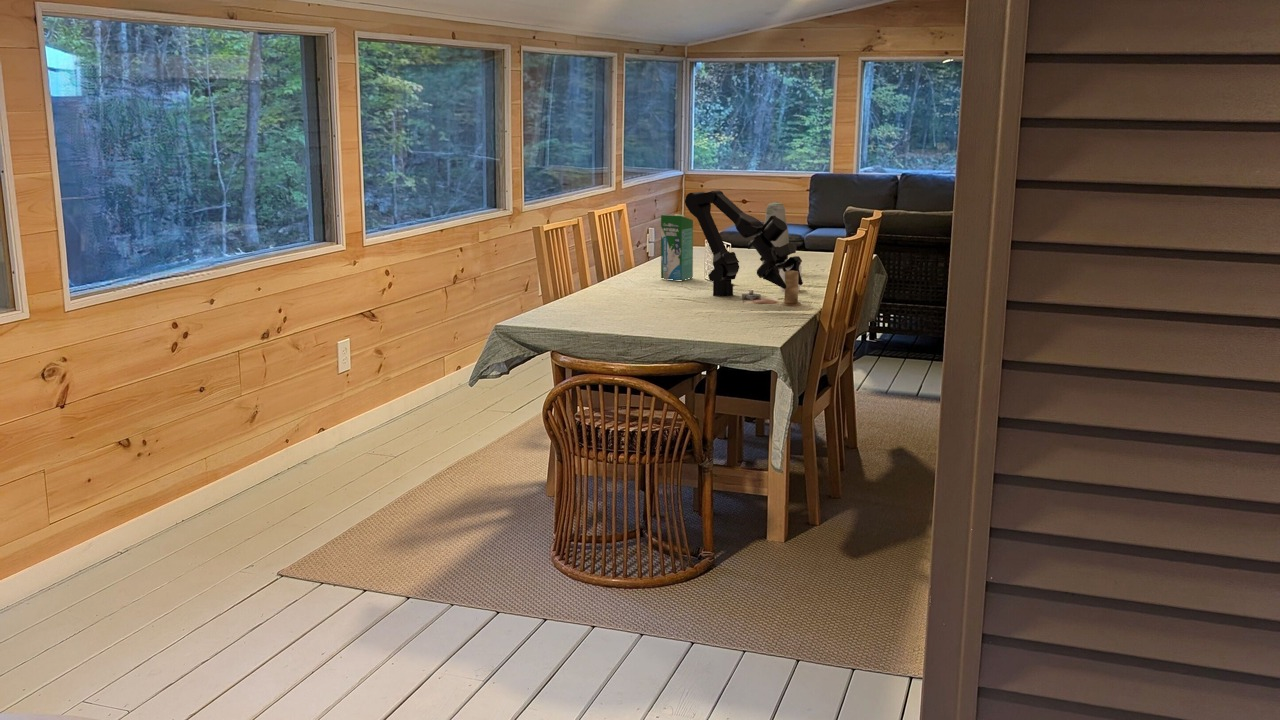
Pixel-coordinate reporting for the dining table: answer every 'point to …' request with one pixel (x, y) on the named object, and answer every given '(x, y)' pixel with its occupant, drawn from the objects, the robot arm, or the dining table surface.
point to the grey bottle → (779, 212)
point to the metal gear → (751, 296)
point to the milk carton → (676, 247)
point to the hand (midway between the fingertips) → (793, 286)
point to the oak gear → (791, 289)
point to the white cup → (784, 277)
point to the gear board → (762, 301)
